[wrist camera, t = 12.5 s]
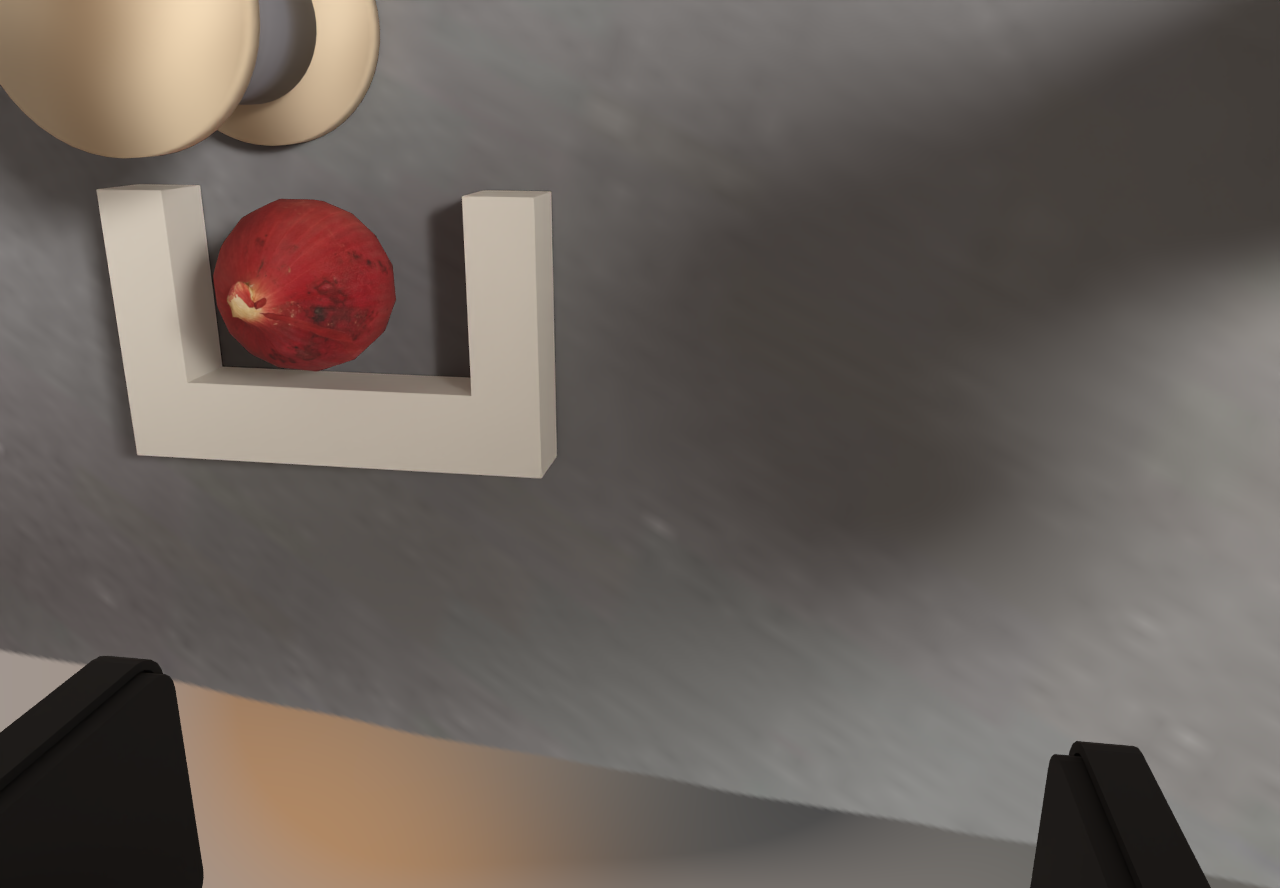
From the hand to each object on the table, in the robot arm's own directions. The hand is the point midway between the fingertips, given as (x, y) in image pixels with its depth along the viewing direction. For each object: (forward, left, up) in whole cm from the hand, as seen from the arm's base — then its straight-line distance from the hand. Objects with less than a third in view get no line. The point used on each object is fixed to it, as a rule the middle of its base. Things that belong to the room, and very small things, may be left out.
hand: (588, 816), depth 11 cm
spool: (+17, -9, -28) cm, 34 cm away
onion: (+15, -1, -28) cm, 32 cm away
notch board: (+15, +1, -28) cm, 32 cm away
